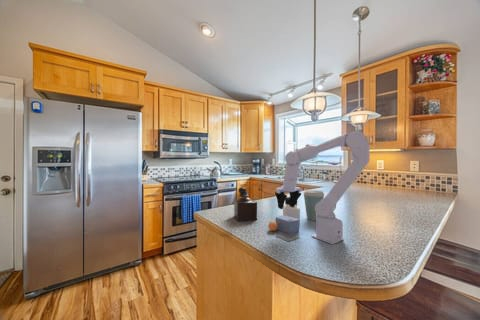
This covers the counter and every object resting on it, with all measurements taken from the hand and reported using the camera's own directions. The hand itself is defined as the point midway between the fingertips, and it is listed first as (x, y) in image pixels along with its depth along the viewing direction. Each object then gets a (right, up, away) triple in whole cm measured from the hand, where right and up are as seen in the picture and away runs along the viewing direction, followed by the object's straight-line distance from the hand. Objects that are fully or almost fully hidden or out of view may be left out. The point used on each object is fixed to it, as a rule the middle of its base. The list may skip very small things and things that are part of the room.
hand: (286, 207), depth 92 cm
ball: (-6, -8, -2) cm, 10 cm away
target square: (-1, -10, -9) cm, 13 cm away
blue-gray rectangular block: (0, -10, -1) cm, 10 cm away
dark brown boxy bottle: (-18, -10, +15) cm, 25 cm away
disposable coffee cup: (+18, -10, +16) cm, 26 cm away
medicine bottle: (+5, -10, +13) cm, 17 cm away
